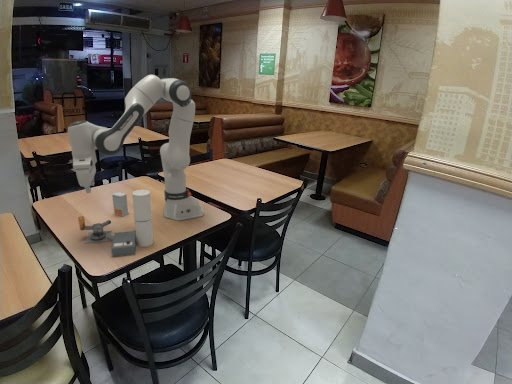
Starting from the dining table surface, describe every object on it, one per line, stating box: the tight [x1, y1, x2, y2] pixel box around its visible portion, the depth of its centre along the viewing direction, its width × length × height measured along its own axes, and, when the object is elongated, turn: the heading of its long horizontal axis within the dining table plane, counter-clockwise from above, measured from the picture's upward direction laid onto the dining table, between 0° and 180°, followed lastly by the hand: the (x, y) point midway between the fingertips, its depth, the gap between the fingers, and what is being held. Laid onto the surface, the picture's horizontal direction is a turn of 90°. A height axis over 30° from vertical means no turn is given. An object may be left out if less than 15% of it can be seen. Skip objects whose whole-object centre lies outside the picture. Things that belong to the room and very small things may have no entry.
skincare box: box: [111, 191, 129, 217], centre depth 163 cm, size 6×4×12 cm
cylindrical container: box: [132, 189, 154, 248], centre depth 135 cm, size 7×7×25 cm
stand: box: [84, 230, 137, 258], centre depth 137 cm, size 22×24×6 cm
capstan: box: [77, 216, 112, 240], centre depth 140 cm, size 13×12×10 cm
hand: (90, 188), depth 136 cm, fingers open, 8 cm apart
